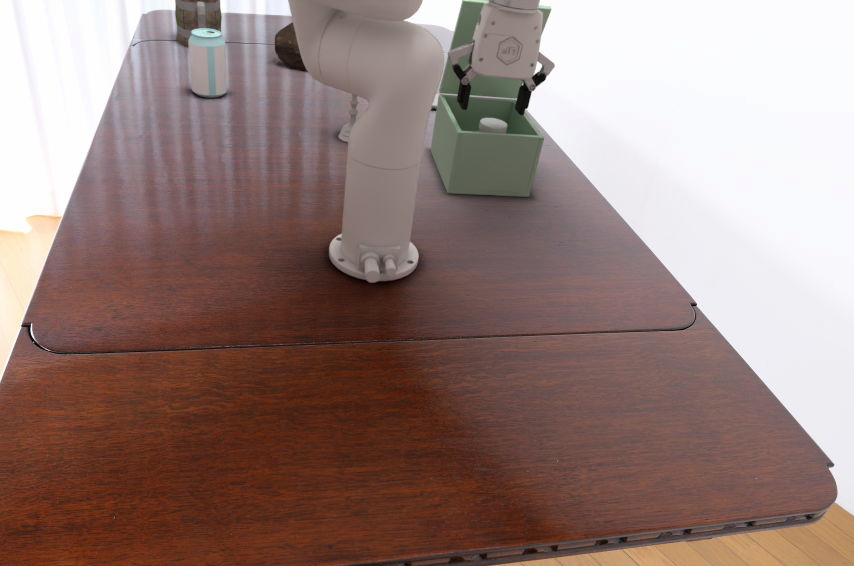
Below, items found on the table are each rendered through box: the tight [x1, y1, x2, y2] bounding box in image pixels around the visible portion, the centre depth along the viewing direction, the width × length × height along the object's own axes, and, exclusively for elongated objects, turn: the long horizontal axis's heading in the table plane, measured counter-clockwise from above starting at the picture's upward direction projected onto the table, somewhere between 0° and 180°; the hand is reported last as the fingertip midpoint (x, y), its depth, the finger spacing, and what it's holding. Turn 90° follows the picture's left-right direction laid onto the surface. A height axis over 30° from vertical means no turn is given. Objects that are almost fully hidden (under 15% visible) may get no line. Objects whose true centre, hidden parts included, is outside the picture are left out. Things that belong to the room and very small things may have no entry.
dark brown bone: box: [274, 21, 307, 71], centre depth 167 cm, size 11×10×28 cm
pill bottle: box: [478, 118, 507, 133], centre depth 117 cm, size 6×6×10 cm
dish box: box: [429, 93, 545, 198], centre depth 120 cm, size 18×15×11 cm
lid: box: [438, 0, 552, 100], centre depth 117 cm, size 18×15×5 cm
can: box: [188, 28, 228, 99], centre depth 137 cm, size 7×7×12 cm
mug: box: [174, 0, 223, 48], centre depth 162 cm, size 16×11×12 cm
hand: (491, 109), depth 112 cm, fingers open, 9 cm apart
